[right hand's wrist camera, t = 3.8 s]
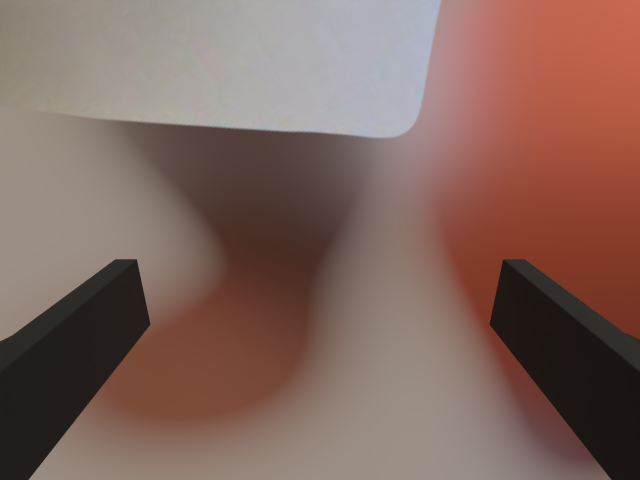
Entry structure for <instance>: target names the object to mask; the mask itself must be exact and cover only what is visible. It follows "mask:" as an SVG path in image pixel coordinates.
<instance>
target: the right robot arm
mask: <svg viewBox="0 0 640 480" xmlns="http://www.w3.org/2000/svg"><path fill="white" fill-rule="evenodd" d="M149 326H150V320H149V315H148V311H147V306H146V301H145V297H144V292H143V287H142V282H141V277H140V272H139V268H138V263H137V260H136V259H116V260H114V261H113V262H111V263H110V264H109V265H107V266H106V267H104V268H103V269H102V270H100V271H99V272H98V273H96V274H95V275H94V276H92V277H91V278H90V279H88V280H87V281H85V282H84V283H83V284H82V285H80V286H79V287H77V288H76V289H75V290H73V291H72V292H71V293H69V294H68V295H66V296H65V297H64V298H62V299H61V300H60V301H58V302H57V303H56V304H54V305H53V306H52V307H50V308H49V309H48V310H46V311H45V312H44V313H42V314H41V315H39V316H38V317H37V318H35V319H34V320H33V321H31V322H30V323H29V324H27V325H26V326H24V327H23V328H22V329H20V330H19V331H18V332H16V333H15V334H14V335H12V336H10V337H8V338H6V339H4V340H2V341H0V480H29V478H30V477H31V476H32V475H33V473H34V472H35V471H36V470H37V468H38V467H39V466H40V464H41V463H42V462H43V461H44V459H45V458H46V457H47V455H48V454H49V453H50V452H51V450H52V449H53V448H54V447H55V445H56V444H57V443H58V442H59V440H60V439H61V438H62V436H63V435H64V434H65V433H66V431H67V430H68V429H69V428H70V426H71V425H72V424H73V422H74V421H75V420H76V419H77V417H78V416H79V415H80V413H81V412H82V411H83V410H84V408H85V407H86V406H87V405H88V403H89V402H90V401H91V399H92V398H93V397H94V396H95V394H96V393H97V392H98V391H99V389H100V388H101V387H102V386H103V384H104V383H105V382H106V380H107V379H108V378H109V377H110V375H111V374H112V373H113V372H114V370H115V369H116V368H117V366H118V365H119V364H120V363H121V361H122V360H123V359H124V357H125V356H126V355H127V354H128V352H129V351H130V350H131V348H132V347H133V346H134V345H135V344H136V342H137V341H138V340H139V338H140V337H141V336H142V335H143V333H144V332H145V331H146V329H147V328H148V327H149ZM490 326H491V327H492V328H493V329H494V331H495V332H496V333H497V335H498V336H499V337H500V338H501V340H502V341H503V342H504V343H505V345H506V346H507V347H508V349H509V350H510V351H511V352H512V354H513V355H514V356H515V357H516V359H517V360H518V361H519V363H520V364H521V365H522V366H523V368H524V369H525V370H526V371H527V373H528V374H529V375H530V377H531V378H532V379H533V380H534V382H535V383H536V384H537V386H538V387H539V388H540V389H541V391H542V392H543V393H544V394H545V396H546V397H547V398H548V399H549V401H550V402H551V403H552V405H553V406H554V407H555V408H556V410H557V411H558V412H559V413H560V415H561V416H562V417H563V419H564V420H565V421H566V422H567V424H568V425H569V426H570V428H571V429H572V430H573V431H574V433H575V434H576V435H577V436H578V438H579V439H580V440H581V442H582V443H583V444H584V445H585V447H586V448H587V449H588V450H589V452H590V453H591V454H592V456H593V457H594V458H595V459H596V461H597V462H598V463H599V464H600V466H601V467H602V468H603V469H604V471H605V472H606V473H607V475H608V476H609V477H610V478H611V480H640V340H639V339H637V338H635V337H633V336H631V335H629V334H627V333H624V332H622V331H621V330H620V329H618V328H617V327H616V326H614V325H613V324H611V323H610V322H609V321H607V320H606V319H605V318H603V317H602V316H601V315H599V314H598V313H597V312H595V311H594V310H592V309H591V308H590V307H588V306H587V305H586V304H584V303H583V302H582V301H580V300H579V299H578V298H576V297H575V296H573V295H572V294H571V293H569V292H568V291H567V290H565V289H564V288H563V287H561V286H560V285H559V284H557V283H556V282H554V281H553V280H552V279H550V278H549V277H548V276H546V275H545V274H544V273H542V272H541V271H540V270H538V269H537V268H536V267H534V266H533V265H531V264H530V263H529V262H527V261H526V260H524V259H504V260H503V263H502V268H501V272H500V277H499V282H498V287H497V292H496V297H495V301H494V306H493V311H492V315H491V320H490Z"/></svg>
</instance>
